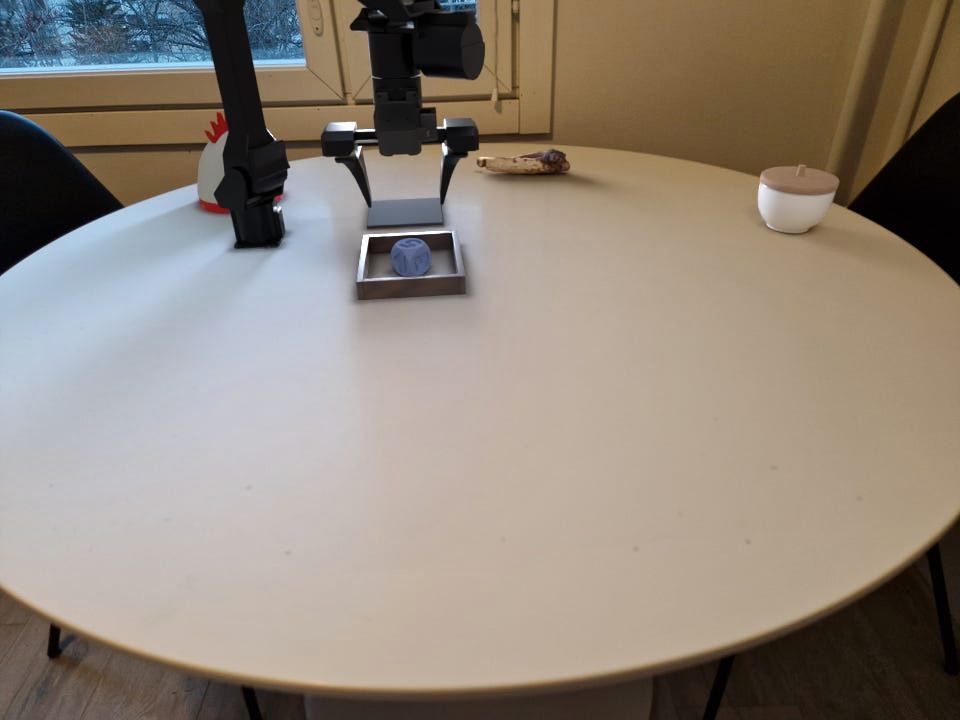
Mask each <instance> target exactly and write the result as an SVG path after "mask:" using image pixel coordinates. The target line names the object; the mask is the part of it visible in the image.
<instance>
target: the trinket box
mask: <svg viewBox="0 0 960 720" xmlns="http://www.w3.org/2000/svg"><path fill="white" fill-rule="evenodd" d="M759 177H760V178H759V184H758V185H759V186H758V190H757V207H758V212H759V214H760V216H761V217H762V219H763V220H764V222H765V225H766V227H768V228H769V229H771V230H773V231H776V232H780V233H784V234H803V233H807V232H808V231H809V230H810V228H812V227H814V226H815V225H817V224H819V223H820V222H821V221H822V220H823V219H824V217H826V215H827V214H828V212H829V210H830V209H831V206H832V204H833V202H834V199H835V197H836V193H837V190H838V188H839V186H840V179H839V178H838V176H836V175H834V174H832V173H830V172H828V171H825V170H821V169H817V168H811V167H807V165H806V164H803V163H802V164H798V166H789V165H786V166H784V165H783V166H774V167H769V168H765V169H764V170H763V171H761V174H760V176H759Z"/></svg>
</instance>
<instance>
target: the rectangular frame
mask: <svg viewBox="0 0 960 720" xmlns="http://www.w3.org/2000/svg"><path fill="white" fill-rule="evenodd" d="M458 232H459V231H458V230H439V231H421V232H399V233H380V234H363V236H362V241H361V248H360V254H359V261H358V267H357V274H356V278H355V279H356V281H355V285H356V291H357V299H358V301H360V300H377V299H393V298H395V299H396V298H397V299H398V298H413V297H429V296H430V297H431V296H448V295H464V294H467V292H466V291H467V288H466V287H467V286H466V285H467V284H466V273H465V266H464V261H463V255H462V249H461V243H460V237H459V233H458ZM407 238H416V239H420V240H422V241H424V242H425V243H426V244H427V246H428V247H429V249H430V251H433V250H434V251H435V250H452V253H453V258H454V266H455V272H456V273H452V274H451V273H450V274H449V273H447V274H433V275H432V274H431V275H420V276H412V277H405V276H396V277H394V276H393V277H379V278H377V277H376V278H369V277H368V275H369V268H370V260H371V254H375V253H376V254H377V253H391V251H392V248H393V246H394V245H395V244H396V243H397V242H398V241H400V240H402V239H407Z"/></svg>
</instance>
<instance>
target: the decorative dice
mask: <svg viewBox="0 0 960 720" xmlns="http://www.w3.org/2000/svg"><path fill="white" fill-rule="evenodd" d="M390 262H391V265H392V267H393V270H395V272H396V273H397V274H399V275H400V276H401V277H412V276H423V275H424V274H425V273H426V272H428V270H429V268H430V267H431V263H432V252H431V250H430V249H429V247H428V246H427V244H426V243H425V242H424V241H422V240H420V239H416V238H407V239H402V240H400V241H398V242H397V243H396V244H395V245H394V246H393V248H392V251H391V252H390Z"/></svg>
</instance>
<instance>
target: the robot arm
mask: <svg viewBox="0 0 960 720" xmlns="http://www.w3.org/2000/svg"><path fill="white" fill-rule="evenodd" d="M356 1H357V2H358V3H360V4H361V5H362V6H364V7H362V8H360V12H359V13H358V15H357V16H356V17H355V18H354V19H353V21H352V22H351V23H350V24H349V30H350V31H351V32H363V33H364V32H365V33H366V34H367V36H366V37H367V46H368V54H369V55H368V56H369V64H370V65H369V66H370V75H371V86H372V96H373V106H374V110H373V115H372V119H373V127H374V129H373V128H372V129H358V125H357V122H356V121H346V122H344V121H343V122H328V123H327V124H326V125H325V126H324V128H323V130H322V131H321V134H320V146H321V153H322V157H324V158H325V157H326V158H334V162H335V163H336V164H342V165H344V166H345V167H346V168H347V169H348V171H349V172H350V173H351V175H352V177H353V178H354V180H355V181H356V184H357V186H358V188H359V190H360V192H361V195H362V196H363V199H364V201H365V203H366V205H367V207H368V209H370V208H372V201H373V199H372V198H373V197H372V190H371V185H370V181H369V180H370V179H369V176H368V171H367V167H366V162H365V157H364V151H363V147H376V146H378V152H379V155H381V157H386V158H389V157H391V158H392V157H393V156H398V155H399V156H400V155H402V156H403V155H408V156H409V157H410V156H411V157H412V156H418V155H419V154H421V153H422V145H424V144H426V145H427V144H429V145H431V144H442V148H441V162H440V176H439V198H440V204H441V206H442V205H445V201H446V197H447V194H448V190H449V187H450V183H451V179H452V176H453V174H454V172H455V170H456V166H457V165H458V163H459V162H460V160H461V159H467V158H469V152H477V151H479V150H480V132H479V128H478V125H477V123H476V121H475V120H474V119H473V118H472V117H454V118H453V117H452V118H443V126H438V119H437V107H436V106H429V107H426V106H425V107H423V90H422V76H421V75H423V76H425V77H426V78H432V79H433V78H434V79H447V80H461V81H476V80H477V79H478V78H479V76H481V74H482V70H483V68H484V65H485V57H486V42H485V41H484V37H483V33H482V30H481V27H480V26H479V25H478V24H477V22H476V11H475V10H474V9H461V10H457V11H445V10H444V8H443V6H442V5H441V3H440V2H439V0H356ZM192 2H193V3H194V4H195V5H196V7H197V8H198V10H199V11H200V12H201V15H202V19H203V24H204V29H205V32H206V36H207V41H208V44H209V45H208V46H209V50H210V55H211V59H212V64H213V68H214V71H215V72H214V73H215V77H216V81H217V85H218V91H219V95H220V100H221V103H222V109H223V114H224V113H225V117H226V122H227V126H228V136H227V139H226V143H225V146H224V150H223V154H222V156H223V165H224V177H223V179H222V180H221V182H220V184H219V185H218V187H217V188H216V190H215V192H214V197H215V199H216V201H217V203H218V205H219V207H220V208H224V209H229V211H230V213H229V214H230V219H231V223H232V227H233V231H234V232H233V233H234V236H235V242H234V244H233V249H236V250H241V249H258V248H260V249H261V248H276V247H279V246H280V244H281V242H282V240H283V238H284V237H285V234H286V233H287V231H286V227H285V226H286V225H285V221H284V216H283V211H282V207H281V206H278V204H277V203H278V202H277V203H276V198H275V197H276V196H278V195H282V196H283V195H284V188H285V182H286V180H288V175H289V173H288V170H289V169H291V165H290V163H289V160H288V156H287V146H286V143H285V141H284V140H283V139H276V137H274V136H273V135H272V133H271V132H270V131H269V129H268V128H267V126H266V120H265V116H264V110H263V106H262V100H261V95H260V89H259V84H258V80H257V75H256V69H255V64H254V59H253V53H252V50H251V49H252V48H251V44H250V38H249V33H248V29H247V23H246V17H245V5H246V2H247V0H192ZM410 23H412V24H410ZM421 73H422V74H421ZM225 117H224V118H225Z"/></svg>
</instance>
